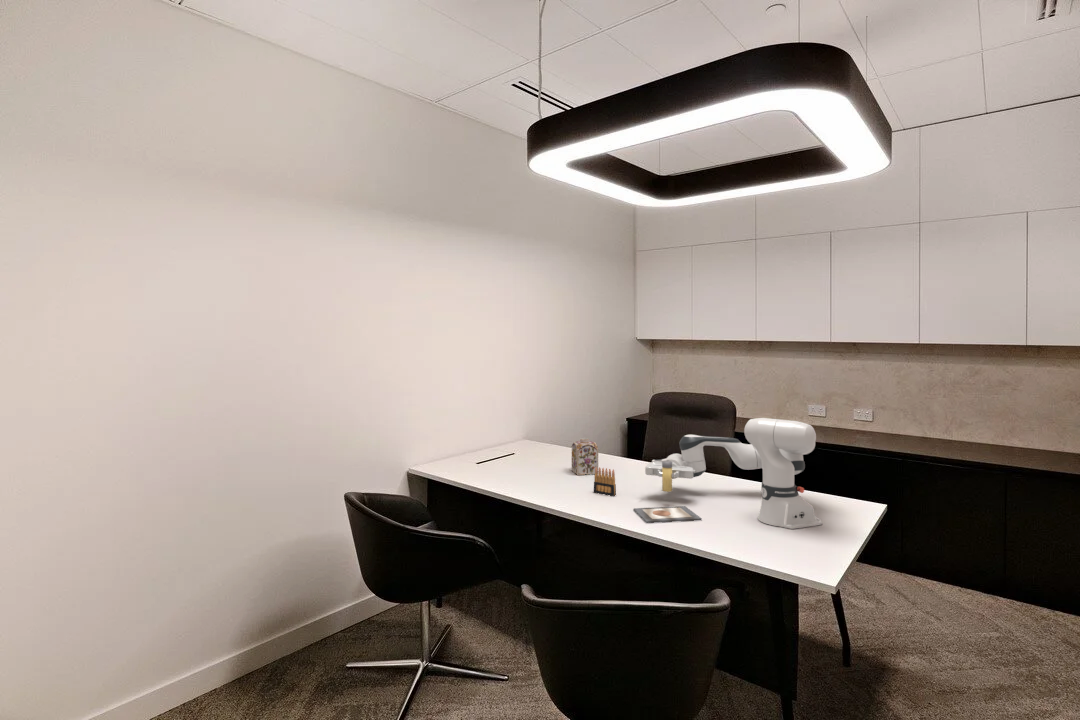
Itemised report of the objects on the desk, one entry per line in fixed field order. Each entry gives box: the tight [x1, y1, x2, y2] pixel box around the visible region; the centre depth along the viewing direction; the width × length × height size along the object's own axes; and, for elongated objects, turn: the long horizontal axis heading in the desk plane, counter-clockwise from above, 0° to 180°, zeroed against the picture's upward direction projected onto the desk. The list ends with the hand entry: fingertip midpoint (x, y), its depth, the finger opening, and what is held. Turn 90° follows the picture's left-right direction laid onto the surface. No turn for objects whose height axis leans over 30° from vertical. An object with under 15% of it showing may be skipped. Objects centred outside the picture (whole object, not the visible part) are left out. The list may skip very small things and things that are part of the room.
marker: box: [661, 461, 673, 493], centre depth 231 cm, size 4×4×12 cm
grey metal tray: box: [632, 505, 702, 524], centre depth 218 cm, size 22×16×1 cm
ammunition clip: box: [593, 466, 617, 497], centre depth 248 cm, size 11×2×12 cm, turn 53°
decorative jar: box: [571, 437, 599, 476], centre depth 288 cm, size 12×12×18 cm
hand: (666, 475), depth 230 cm, fingers closed on marker, 4 cm apart
